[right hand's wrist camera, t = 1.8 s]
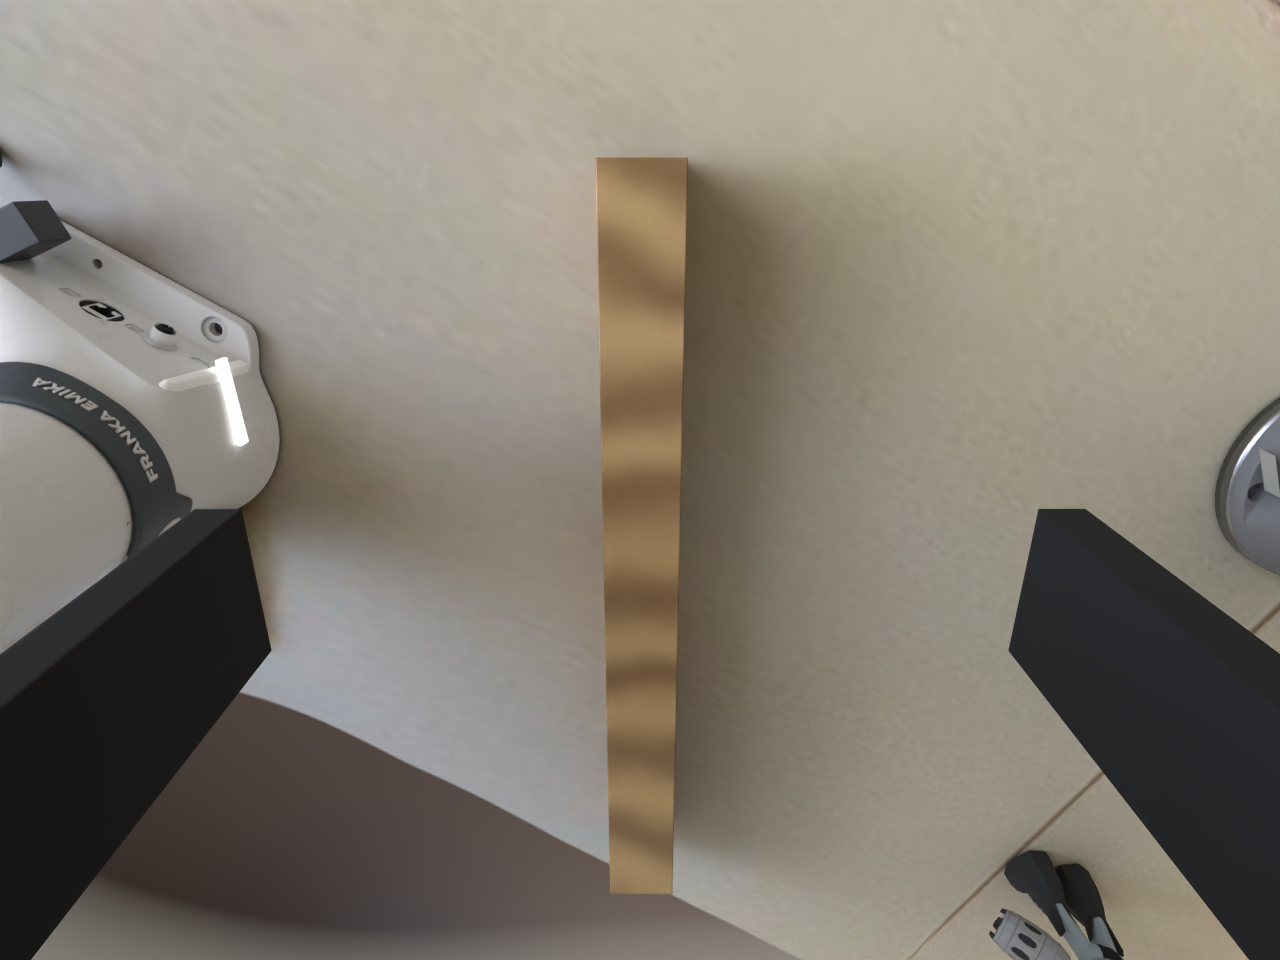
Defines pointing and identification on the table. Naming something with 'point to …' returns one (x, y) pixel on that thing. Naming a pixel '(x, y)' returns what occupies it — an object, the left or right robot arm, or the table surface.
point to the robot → (1055, 913)
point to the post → (641, 501)
